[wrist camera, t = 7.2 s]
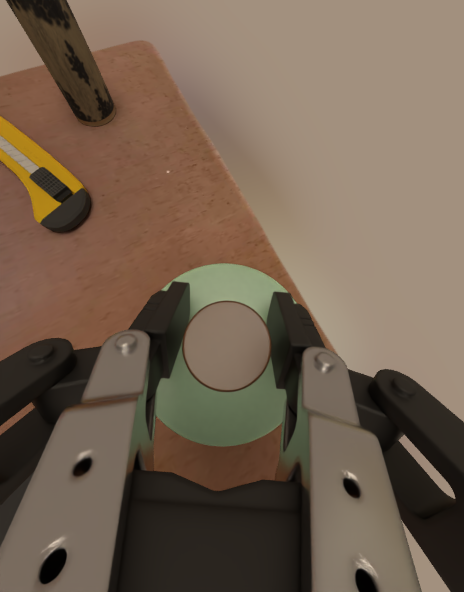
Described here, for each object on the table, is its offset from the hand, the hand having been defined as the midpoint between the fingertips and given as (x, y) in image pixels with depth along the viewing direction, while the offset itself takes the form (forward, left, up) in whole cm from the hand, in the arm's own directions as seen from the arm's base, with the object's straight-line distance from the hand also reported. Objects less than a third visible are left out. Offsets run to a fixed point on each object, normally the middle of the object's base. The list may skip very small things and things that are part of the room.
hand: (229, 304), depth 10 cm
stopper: (-1, +2, -2) cm, 3 cm away
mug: (+32, -17, -14) cm, 39 cm away
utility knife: (+32, -4, -14) cm, 35 cm away
